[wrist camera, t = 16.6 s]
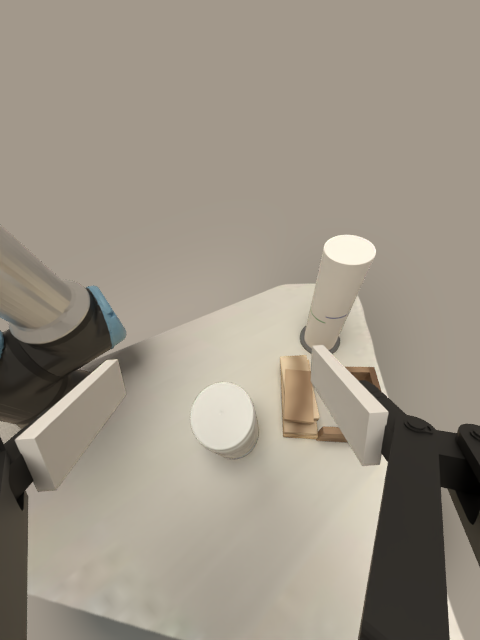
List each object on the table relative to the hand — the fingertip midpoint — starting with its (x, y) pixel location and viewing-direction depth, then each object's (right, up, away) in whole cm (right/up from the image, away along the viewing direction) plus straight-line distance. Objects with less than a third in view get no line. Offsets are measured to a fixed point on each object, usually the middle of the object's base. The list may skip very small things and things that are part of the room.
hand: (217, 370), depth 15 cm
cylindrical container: (+21, -1, +38) cm, 43 cm away
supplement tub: (+1, -18, +28) cm, 34 cm away
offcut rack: (+18, -12, +30) cm, 37 cm away
